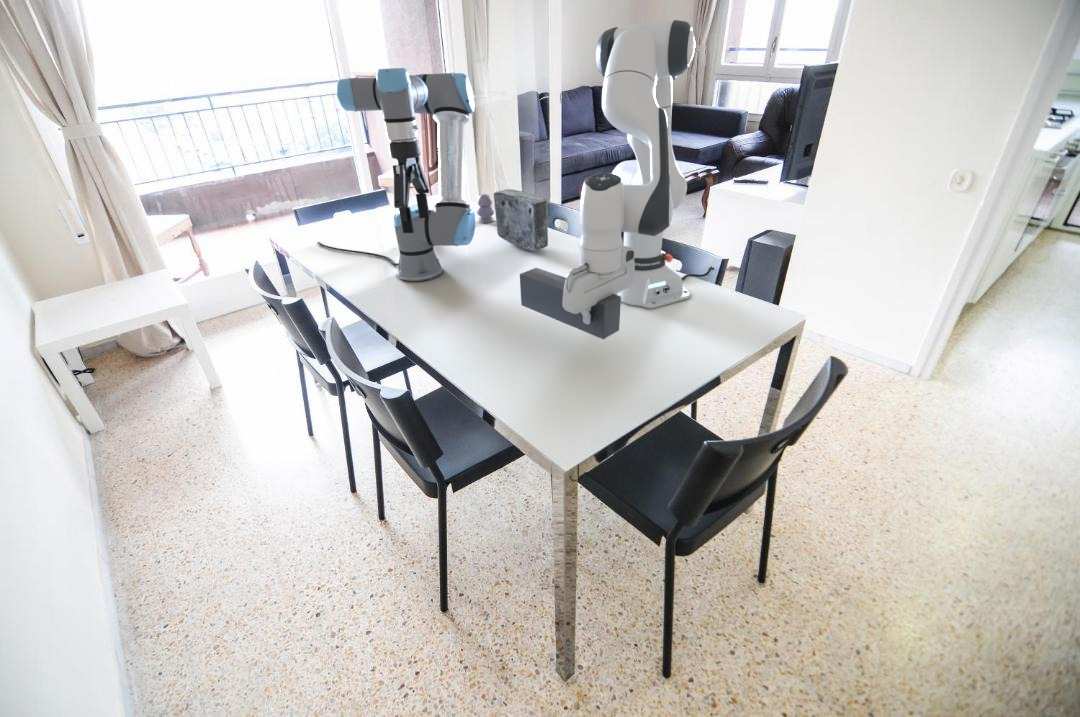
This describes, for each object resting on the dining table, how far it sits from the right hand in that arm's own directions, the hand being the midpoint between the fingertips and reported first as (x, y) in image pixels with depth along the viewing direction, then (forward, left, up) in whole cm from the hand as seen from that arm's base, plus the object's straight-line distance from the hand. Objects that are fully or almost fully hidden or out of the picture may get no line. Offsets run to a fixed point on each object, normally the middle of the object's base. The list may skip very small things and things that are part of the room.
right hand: (598, 317), depth 110 cm
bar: (+5, -8, -3) cm, 10 cm away
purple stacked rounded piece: (+3, -136, -15) cm, 137 cm away
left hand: (+35, -45, +12) cm, 59 cm away
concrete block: (-5, -94, -15) cm, 95 cm away
